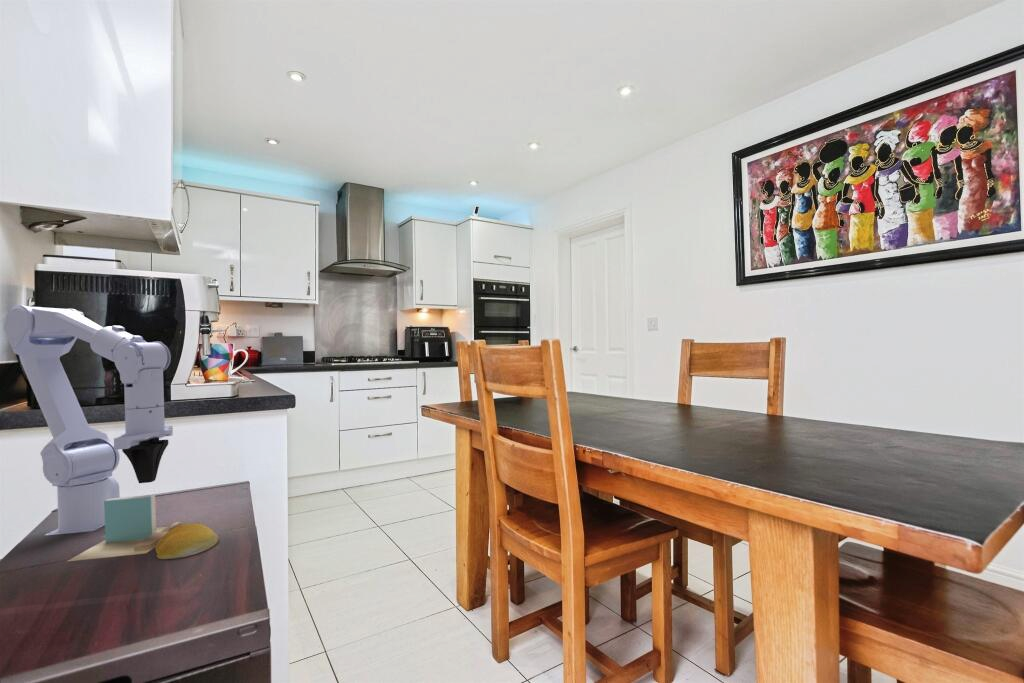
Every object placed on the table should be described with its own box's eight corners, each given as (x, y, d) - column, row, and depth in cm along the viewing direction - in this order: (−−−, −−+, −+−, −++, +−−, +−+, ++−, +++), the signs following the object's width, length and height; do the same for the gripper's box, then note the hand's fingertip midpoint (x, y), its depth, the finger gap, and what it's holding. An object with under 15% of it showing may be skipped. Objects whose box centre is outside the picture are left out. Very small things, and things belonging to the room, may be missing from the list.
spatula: (170, 527, 87) (170, 522, 87) (185, 525, 88) (185, 521, 88) (133, 551, 76) (133, 546, 76) (151, 549, 77) (151, 544, 77)
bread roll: (159, 569, 71) (158, 542, 71) (154, 552, 78) (153, 527, 78) (223, 551, 77) (222, 526, 77) (213, 537, 83) (212, 514, 83)
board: (120, 534, 86) (120, 531, 86) (187, 528, 88) (187, 524, 88) (66, 565, 74) (66, 561, 74) (146, 556, 75) (146, 553, 75)
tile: (111, 539, 82) (110, 498, 83) (156, 534, 84) (155, 494, 84) (105, 542, 81) (104, 501, 81) (151, 538, 82) (150, 497, 82)
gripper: (145, 410, 81) (148, 490, 81) (188, 402, 96) (190, 470, 95) (99, 413, 80) (101, 494, 80) (149, 404, 94) (151, 473, 94)
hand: (147, 481), depth 87 cm, fingers closed
